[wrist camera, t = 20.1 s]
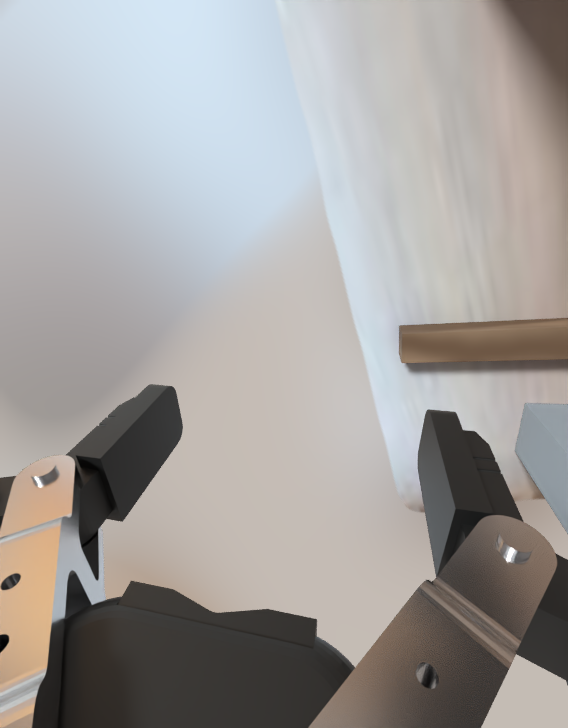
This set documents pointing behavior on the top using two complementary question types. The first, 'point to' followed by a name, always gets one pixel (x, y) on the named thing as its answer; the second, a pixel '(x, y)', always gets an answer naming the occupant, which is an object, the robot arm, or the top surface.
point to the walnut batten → (484, 341)
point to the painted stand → (547, 453)
